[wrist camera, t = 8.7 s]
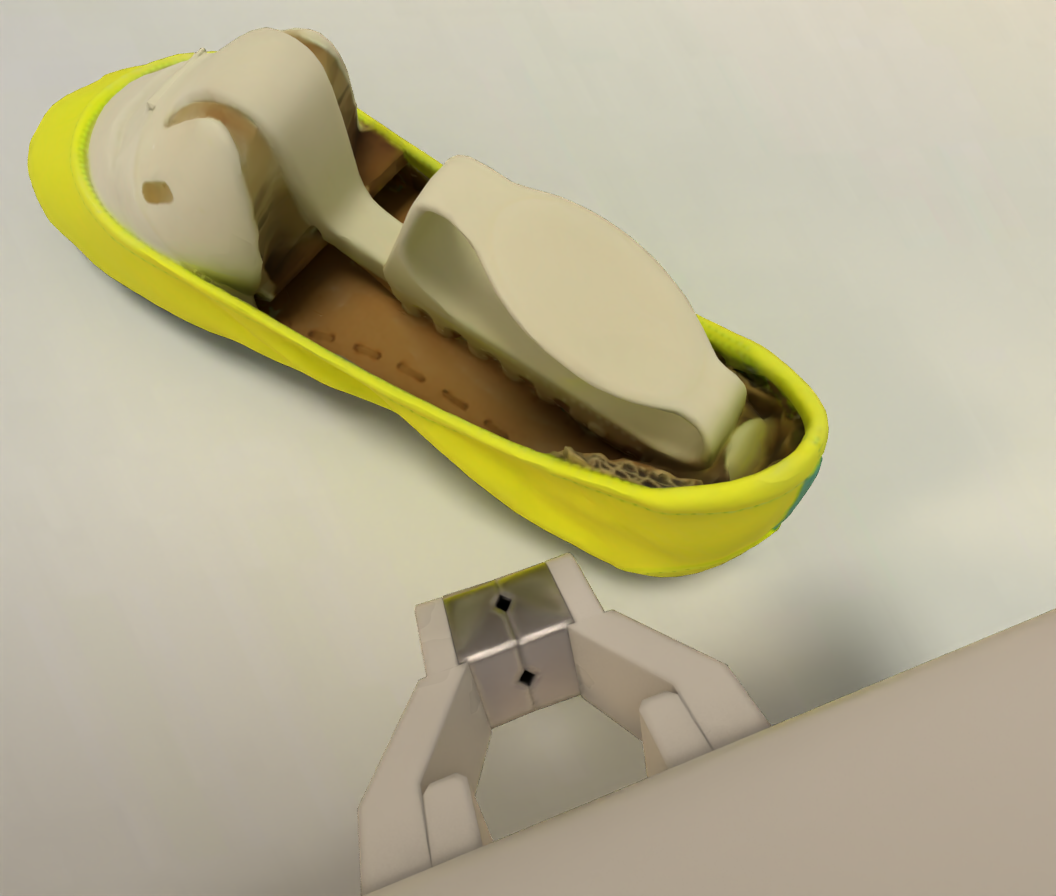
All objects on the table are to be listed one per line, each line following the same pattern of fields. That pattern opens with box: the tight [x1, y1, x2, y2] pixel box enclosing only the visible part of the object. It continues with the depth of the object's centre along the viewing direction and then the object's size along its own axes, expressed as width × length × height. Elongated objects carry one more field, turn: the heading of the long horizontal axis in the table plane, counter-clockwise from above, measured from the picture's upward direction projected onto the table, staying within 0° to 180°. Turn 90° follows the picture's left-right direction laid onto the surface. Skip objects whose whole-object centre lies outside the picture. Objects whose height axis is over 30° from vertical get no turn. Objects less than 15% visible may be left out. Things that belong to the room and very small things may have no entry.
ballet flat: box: [28, 27, 829, 577], centre depth 15 cm, size 8×24×8 cm, turn 58°
